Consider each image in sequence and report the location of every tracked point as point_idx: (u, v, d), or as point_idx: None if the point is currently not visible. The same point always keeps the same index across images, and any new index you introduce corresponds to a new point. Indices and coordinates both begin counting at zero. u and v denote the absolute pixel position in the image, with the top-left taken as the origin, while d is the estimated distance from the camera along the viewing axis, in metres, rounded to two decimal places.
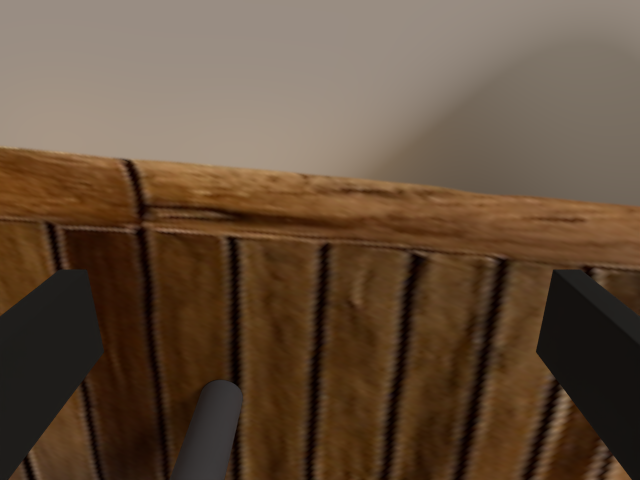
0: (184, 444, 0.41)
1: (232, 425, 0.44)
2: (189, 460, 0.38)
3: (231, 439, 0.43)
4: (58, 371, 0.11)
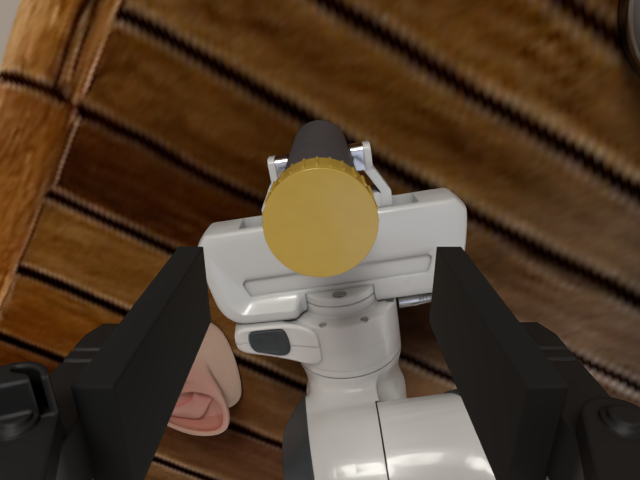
0: None
1: (322, 128, 0.33)
2: None
3: (329, 131, 0.32)
4: (190, 333, 0.13)
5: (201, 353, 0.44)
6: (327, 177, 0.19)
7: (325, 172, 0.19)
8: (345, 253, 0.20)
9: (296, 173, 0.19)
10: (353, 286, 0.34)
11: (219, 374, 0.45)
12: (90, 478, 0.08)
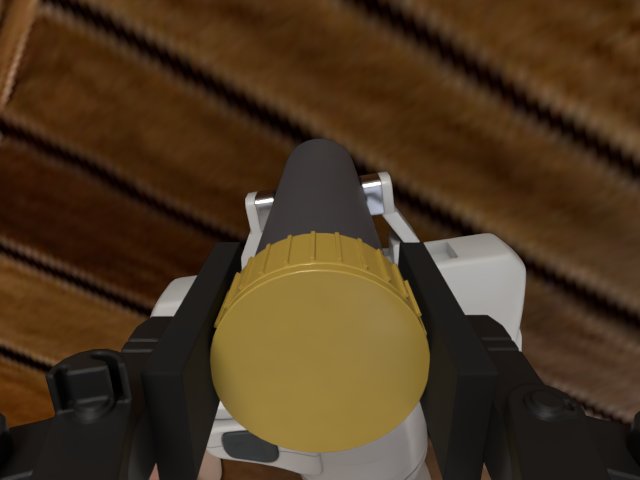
0: None
1: (323, 153, 0.23)
2: None
3: (332, 160, 0.22)
4: None
5: None
6: (333, 287, 0.10)
7: (329, 278, 0.10)
8: (366, 415, 0.11)
9: (272, 280, 0.10)
10: None
11: None
12: (154, 462, 0.09)
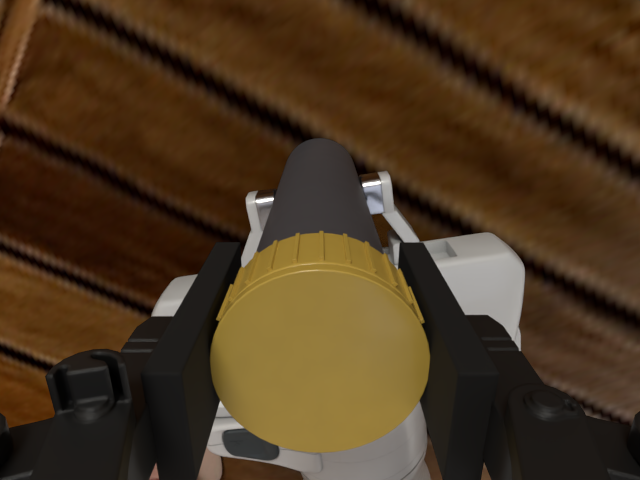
0: None
1: (323, 153, 0.24)
2: None
3: (332, 159, 0.22)
4: None
5: None
6: (226, 357, 0.10)
7: (217, 360, 0.10)
8: (381, 329, 0.10)
9: (222, 403, 0.11)
10: None
11: None
12: (154, 462, 0.09)
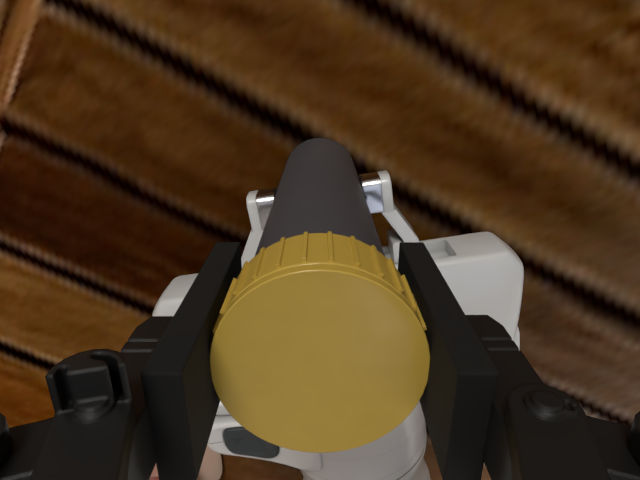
0: None
1: (323, 152, 0.24)
2: None
3: (332, 159, 0.23)
4: None
5: None
6: (304, 440, 0.11)
7: (307, 446, 0.11)
8: (271, 318, 0.10)
9: (356, 447, 0.11)
10: None
11: None
12: (154, 462, 0.09)
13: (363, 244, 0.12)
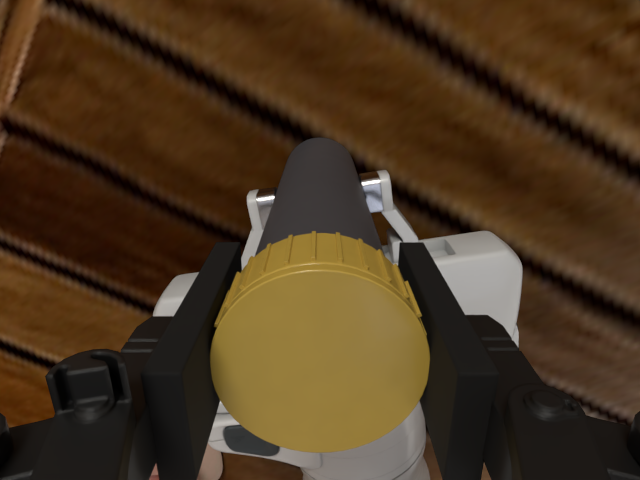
0: None
1: (323, 152, 0.24)
2: None
3: (332, 158, 0.23)
4: None
5: None
6: (410, 385, 0.11)
7: (419, 382, 0.11)
8: (261, 405, 0.11)
9: (425, 338, 0.10)
10: None
11: None
12: (154, 462, 0.09)
13: None
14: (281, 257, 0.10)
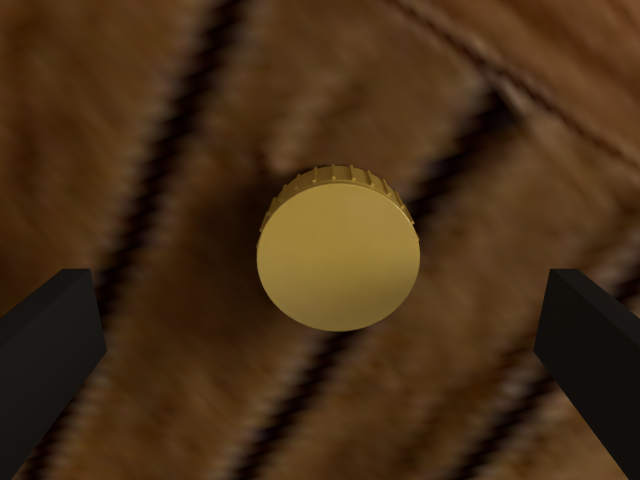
0: None
1: None
2: None
3: None
4: (62, 370, 0.11)
5: None
6: (404, 275, 0.14)
7: (411, 273, 0.14)
8: (293, 291, 0.14)
9: (416, 237, 0.14)
10: None
11: None
12: None
13: None
14: (309, 179, 0.14)
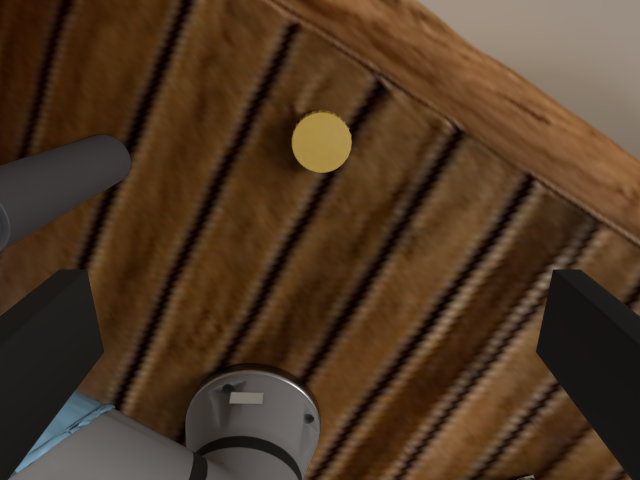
0: (41, 152, 0.33)
1: (106, 173, 0.37)
2: (40, 157, 0.31)
3: (99, 182, 0.36)
4: (58, 371, 0.11)
5: None
6: (346, 148, 0.39)
7: (348, 147, 0.39)
8: (305, 155, 0.39)
9: (349, 133, 0.38)
10: None
11: None
12: None
13: None
14: (311, 113, 0.39)
